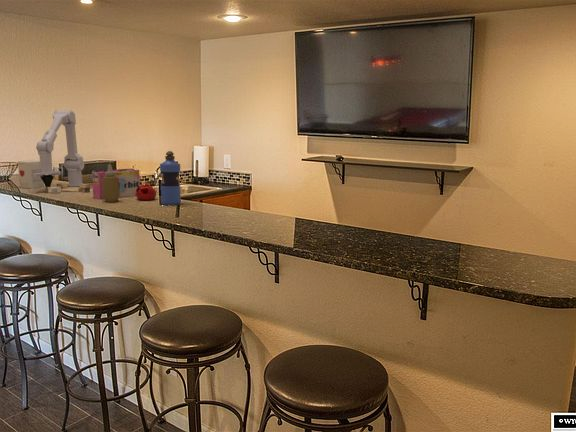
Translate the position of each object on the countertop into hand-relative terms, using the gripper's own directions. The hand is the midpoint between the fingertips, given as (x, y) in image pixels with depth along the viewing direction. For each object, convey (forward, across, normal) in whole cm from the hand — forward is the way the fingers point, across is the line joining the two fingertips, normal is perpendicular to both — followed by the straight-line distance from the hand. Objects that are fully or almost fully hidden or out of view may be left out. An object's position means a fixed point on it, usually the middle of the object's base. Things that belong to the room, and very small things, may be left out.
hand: (48, 189), depth 262 cm
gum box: (+2, +13, -40) cm, 42 cm away
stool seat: (+1, +11, -5) cm, 13 cm away
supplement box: (+2, +4, +22) cm, 22 cm away
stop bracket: (+1, -1, -9) cm, 9 cm away
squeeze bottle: (+1, 0, -50) cm, 50 cm away
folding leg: (+1, +1, -4) cm, 4 cm away
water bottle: (+1, +13, -77) cm, 78 cm away
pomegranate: (+2, +14, -59) cm, 61 cm away
